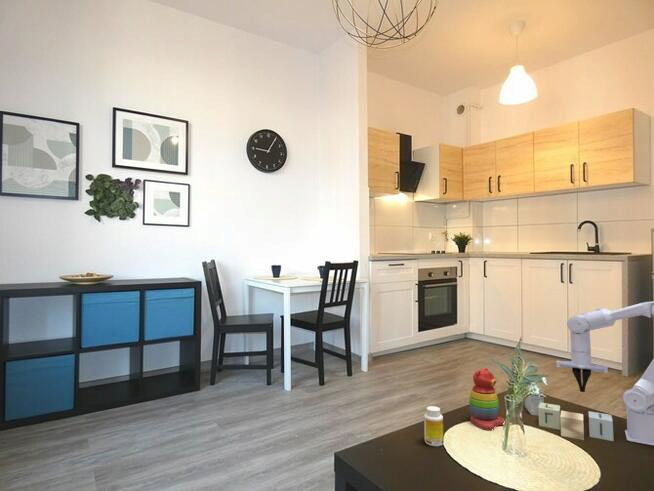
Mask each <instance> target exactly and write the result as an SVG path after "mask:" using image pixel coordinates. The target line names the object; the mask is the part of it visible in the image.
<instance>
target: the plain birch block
mask: <svg viewBox="0 0 654 491" xmlns="http://www.w3.org/2000/svg"><path fill="white" fill-rule="evenodd" d="M560 420H561V425H560V436H561V437H565V438H571V439H575V440H580V441H585V428H584V426H585V425H584V414H583V413H578V412H573V411H572V412H571V411H565V410H560Z"/></svg>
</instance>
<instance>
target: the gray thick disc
mask: <svg viewBox="0 0 654 491" xmlns="http://www.w3.org/2000/svg"><path fill="white" fill-rule="evenodd" d="M541 391H542V393H543V394H544V391H543V390H542V389H541ZM540 402H541V403H545V401H544V397H539V396H534V395H529V396H528V397H527V398H526V399H525V398H524V408H525V409H526V410H527V411H528V413H529V414H530V415H531V416H537V417H539V412H538V407H539V404H540Z"/></svg>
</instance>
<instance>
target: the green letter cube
mask: <svg viewBox="0 0 654 491" xmlns="http://www.w3.org/2000/svg"><path fill="white" fill-rule="evenodd" d="M538 412H539V416H538V426H539V427H543V428H549V429H554V430H559V431H561V420H560V416H561V406H560V405H559V404H551V403H545V402H544V403H541V402H540V404H539V407H538Z"/></svg>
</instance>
